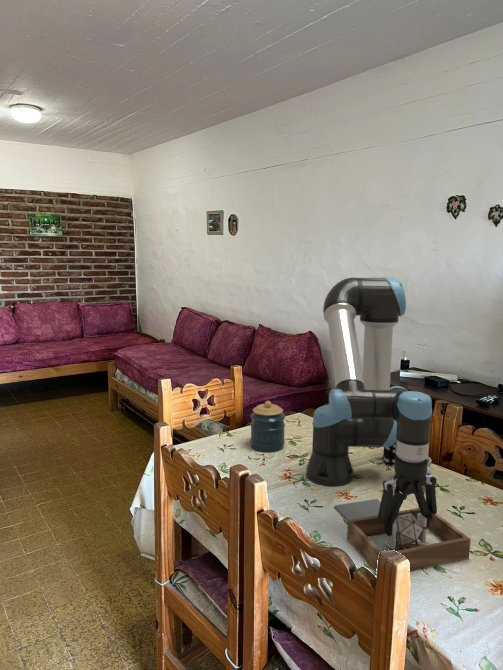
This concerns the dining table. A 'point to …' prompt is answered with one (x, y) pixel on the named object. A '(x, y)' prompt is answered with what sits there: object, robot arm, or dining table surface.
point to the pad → (359, 509)
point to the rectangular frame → (419, 557)
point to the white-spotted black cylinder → (389, 455)
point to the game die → (407, 529)
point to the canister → (267, 428)
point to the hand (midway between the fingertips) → (405, 543)
